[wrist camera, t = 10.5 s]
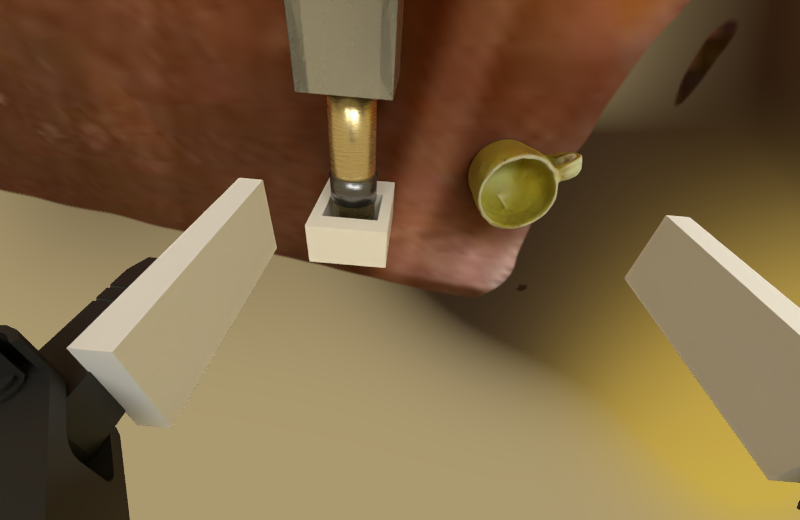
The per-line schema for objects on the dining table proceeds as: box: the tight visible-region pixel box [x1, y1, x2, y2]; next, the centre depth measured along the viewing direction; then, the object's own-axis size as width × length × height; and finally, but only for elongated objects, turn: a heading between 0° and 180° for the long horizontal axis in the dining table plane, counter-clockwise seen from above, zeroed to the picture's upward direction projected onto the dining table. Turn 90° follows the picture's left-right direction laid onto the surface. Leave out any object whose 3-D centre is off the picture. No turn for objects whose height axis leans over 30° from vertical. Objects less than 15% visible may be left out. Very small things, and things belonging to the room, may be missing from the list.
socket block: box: [305, 178, 395, 268], centre depth 42 cm, size 5×9×12 cm, turn 86°
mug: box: [468, 139, 582, 229], centre depth 41 cm, size 12×10×10 cm
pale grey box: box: [284, 0, 404, 100], centre depth 29 cm, size 12×9×11 cm
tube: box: [326, 95, 377, 220], centre depth 36 cm, size 17×5×5 cm, turn 176°
